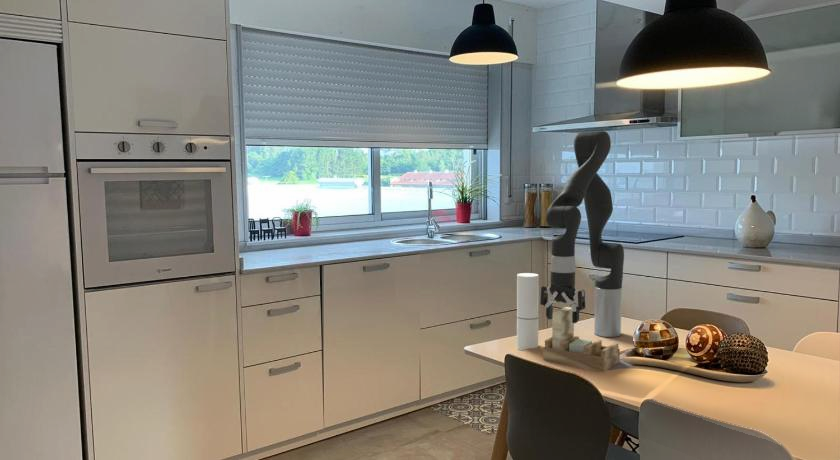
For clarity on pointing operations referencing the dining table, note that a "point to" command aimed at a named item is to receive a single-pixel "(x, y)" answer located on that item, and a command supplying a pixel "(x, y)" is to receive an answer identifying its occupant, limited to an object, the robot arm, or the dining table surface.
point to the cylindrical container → (527, 310)
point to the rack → (583, 355)
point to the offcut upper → (579, 345)
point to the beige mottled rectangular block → (562, 326)
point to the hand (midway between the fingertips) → (562, 320)
